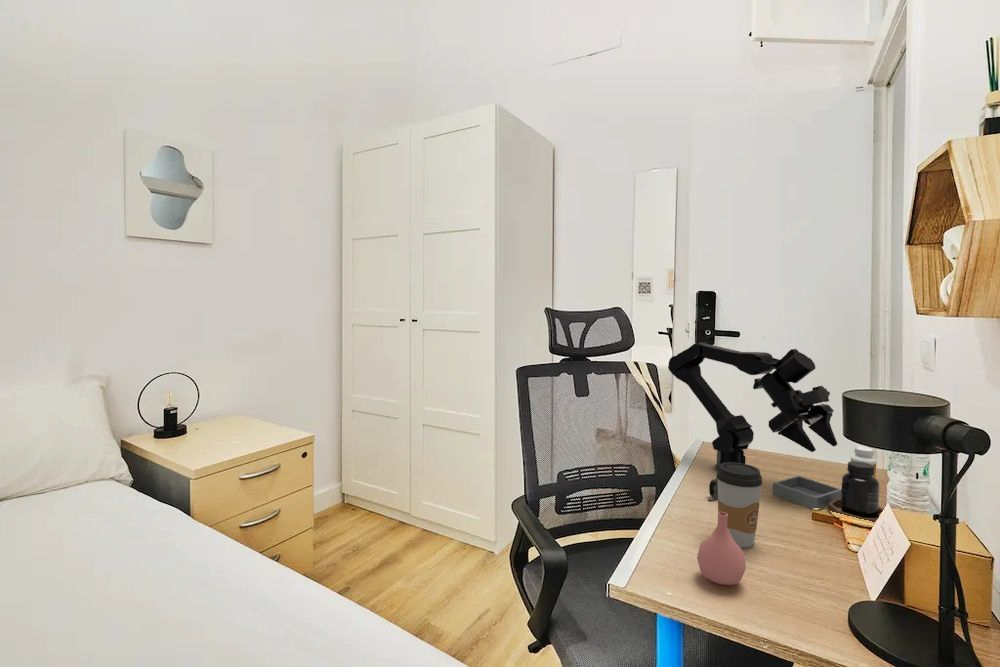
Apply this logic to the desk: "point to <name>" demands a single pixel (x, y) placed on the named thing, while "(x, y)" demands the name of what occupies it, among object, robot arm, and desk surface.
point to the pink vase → (721, 555)
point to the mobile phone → (713, 489)
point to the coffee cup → (739, 500)
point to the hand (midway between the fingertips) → (825, 448)
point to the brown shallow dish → (837, 503)
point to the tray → (806, 492)
